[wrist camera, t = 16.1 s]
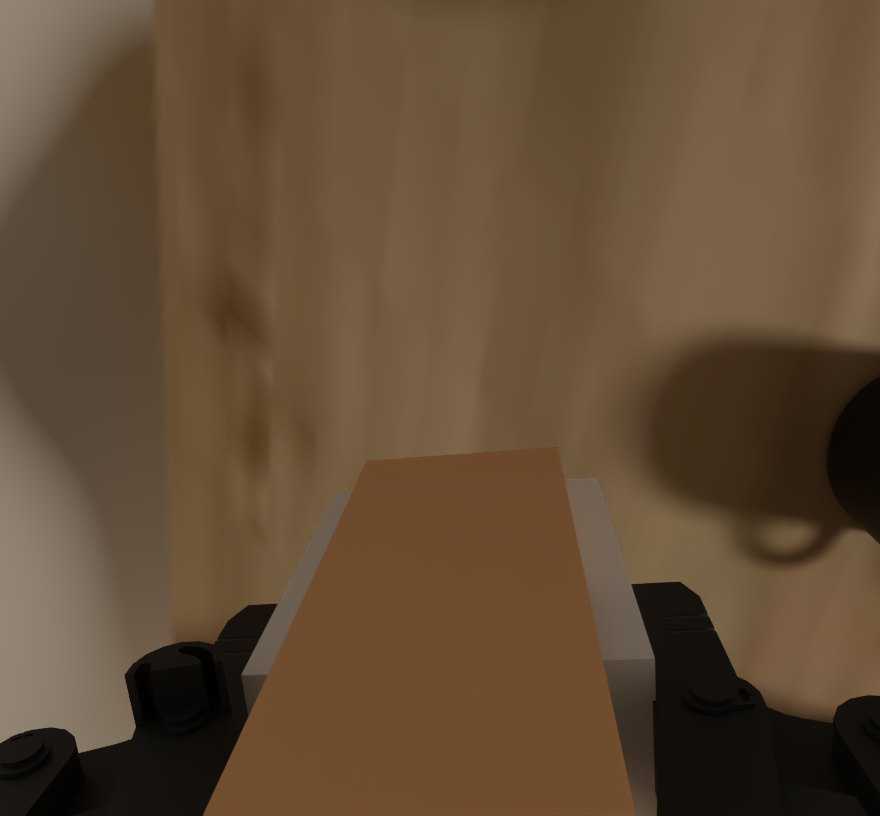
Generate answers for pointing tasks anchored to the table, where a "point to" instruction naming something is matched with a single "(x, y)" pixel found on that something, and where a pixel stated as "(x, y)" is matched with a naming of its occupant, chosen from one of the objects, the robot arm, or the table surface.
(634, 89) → the table surface
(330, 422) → the table surface
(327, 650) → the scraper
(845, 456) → the mug
